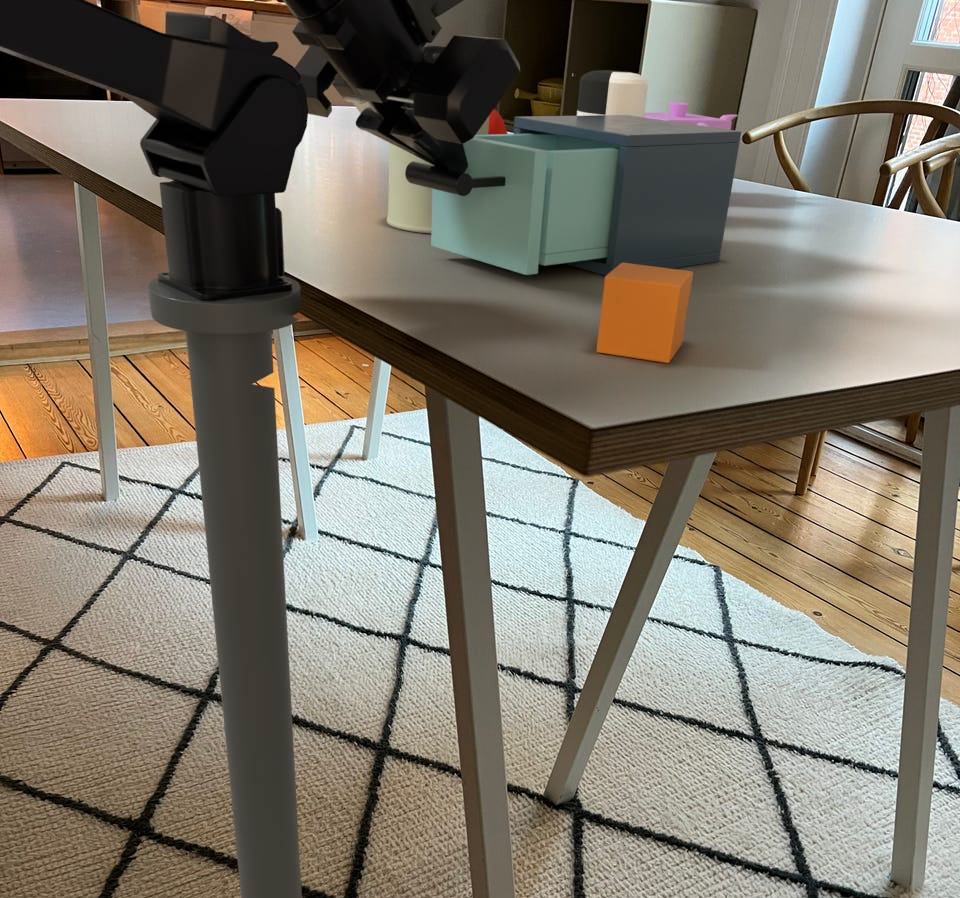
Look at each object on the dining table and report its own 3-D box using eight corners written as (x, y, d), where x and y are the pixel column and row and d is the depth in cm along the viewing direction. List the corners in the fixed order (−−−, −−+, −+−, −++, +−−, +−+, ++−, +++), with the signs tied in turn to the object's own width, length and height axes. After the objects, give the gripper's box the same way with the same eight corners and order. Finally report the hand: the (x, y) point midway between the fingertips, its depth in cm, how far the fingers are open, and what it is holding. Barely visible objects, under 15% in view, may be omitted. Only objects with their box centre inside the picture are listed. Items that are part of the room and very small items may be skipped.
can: (453, 213, 100) (458, 75, 94) (503, 231, 93) (513, 84, 87) (369, 218, 96) (369, 73, 89) (416, 236, 89) (419, 81, 83)
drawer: (477, 282, 72) (484, 153, 67) (382, 251, 79) (383, 133, 74) (639, 259, 82) (654, 146, 77) (542, 234, 89) (551, 128, 84)
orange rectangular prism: (668, 363, 60) (680, 285, 58) (595, 352, 62) (604, 275, 59) (681, 345, 64) (693, 271, 62) (612, 334, 65) (621, 262, 63)
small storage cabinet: (611, 277, 80) (629, 135, 74) (505, 247, 87) (514, 116, 82) (719, 261, 87) (741, 131, 82) (612, 234, 95) (627, 114, 90)
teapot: (683, 184, 127) (697, 97, 122) (758, 202, 118) (775, 108, 113) (567, 188, 119) (575, 94, 114) (636, 208, 109) (649, 106, 104)
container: (546, 213, 103) (558, 67, 96) (592, 207, 108) (607, 68, 101) (606, 226, 99) (624, 74, 92) (651, 219, 104) (671, 74, 97)
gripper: (507, -131, 56) (618, 94, 68) (321, -119, 67) (444, 72, 80) (391, 31, 55) (524, 228, 68) (224, 15, 67) (363, 186, 79)
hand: (461, 171), depth 74 cm, fingers closed, pressing on drawer
